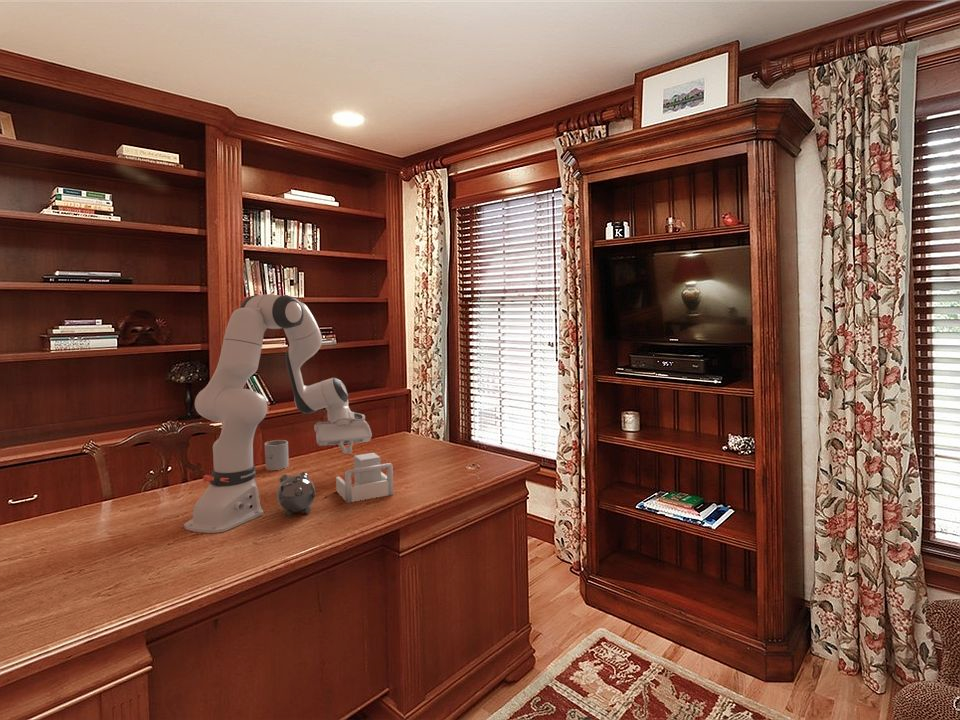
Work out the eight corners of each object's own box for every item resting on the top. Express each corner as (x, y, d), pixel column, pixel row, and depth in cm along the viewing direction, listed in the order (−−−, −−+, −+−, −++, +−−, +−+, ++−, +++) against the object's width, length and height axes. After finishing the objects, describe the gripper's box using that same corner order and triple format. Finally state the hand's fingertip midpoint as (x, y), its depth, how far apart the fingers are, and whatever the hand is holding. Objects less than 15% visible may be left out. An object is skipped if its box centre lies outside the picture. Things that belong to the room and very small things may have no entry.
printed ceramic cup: (291, 468, 209) (290, 443, 208) (268, 472, 205) (267, 446, 204) (283, 460, 219) (282, 437, 218) (261, 464, 215) (260, 440, 214)
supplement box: (382, 493, 180) (381, 457, 179) (360, 497, 177) (359, 460, 175) (375, 487, 187) (374, 452, 186) (354, 490, 183) (353, 455, 182)
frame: (394, 494, 179) (393, 463, 178) (346, 503, 171) (345, 471, 170) (380, 483, 191) (379, 453, 190) (335, 491, 183) (334, 460, 182)
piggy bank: (311, 501, 174) (310, 466, 172) (319, 517, 160) (318, 480, 159) (275, 506, 169) (273, 471, 168) (280, 523, 155) (278, 485, 154)
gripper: (314, 417, 193) (321, 451, 186) (368, 414, 204) (376, 446, 197) (311, 427, 197) (317, 459, 190) (364, 423, 208) (371, 454, 201)
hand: (348, 452), depth 194 cm, fingers closed
